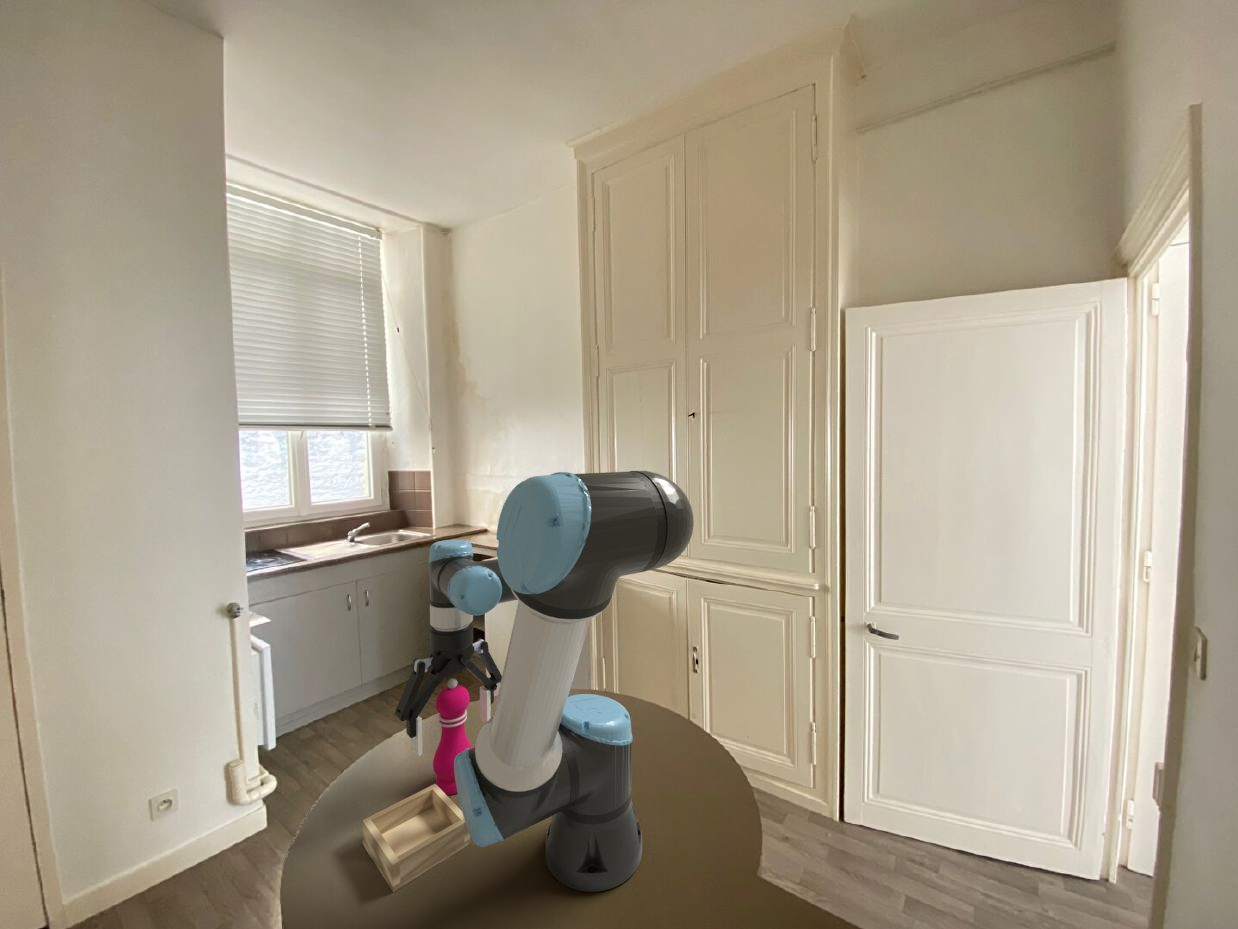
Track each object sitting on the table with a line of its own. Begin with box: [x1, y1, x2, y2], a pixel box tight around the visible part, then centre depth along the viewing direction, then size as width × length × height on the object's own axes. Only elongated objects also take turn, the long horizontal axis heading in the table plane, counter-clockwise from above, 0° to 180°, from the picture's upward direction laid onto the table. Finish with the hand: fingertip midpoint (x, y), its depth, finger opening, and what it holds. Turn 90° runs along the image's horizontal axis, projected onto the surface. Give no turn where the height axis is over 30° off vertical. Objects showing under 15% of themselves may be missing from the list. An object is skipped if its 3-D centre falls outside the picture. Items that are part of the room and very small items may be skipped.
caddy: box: [362, 783, 471, 893], centre depth 79 cm, size 12×12×4 cm
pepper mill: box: [432, 678, 473, 796], centre depth 93 cm, size 7×7×20 cm
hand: (452, 736), depth 93 cm, fingers open, 13 cm apart
